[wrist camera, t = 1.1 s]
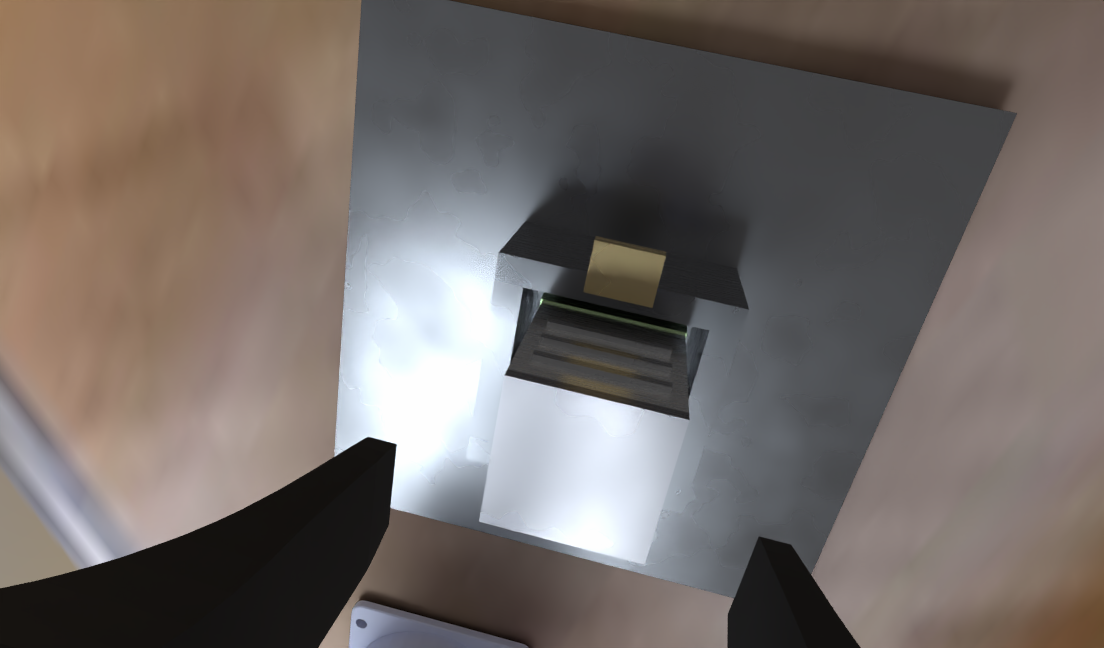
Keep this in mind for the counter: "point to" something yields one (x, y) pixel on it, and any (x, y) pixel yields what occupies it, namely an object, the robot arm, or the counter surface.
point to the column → (589, 428)
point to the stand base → (642, 257)
